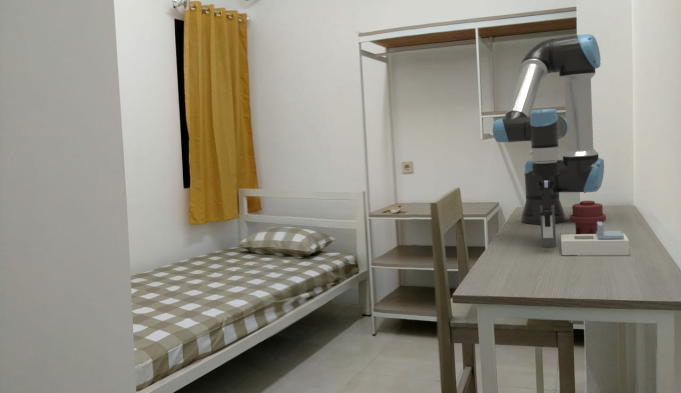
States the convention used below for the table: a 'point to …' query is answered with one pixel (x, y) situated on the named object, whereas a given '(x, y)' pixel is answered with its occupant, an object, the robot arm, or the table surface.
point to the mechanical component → (587, 216)
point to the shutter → (607, 233)
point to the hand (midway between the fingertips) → (548, 233)
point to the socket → (593, 245)
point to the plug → (552, 241)
